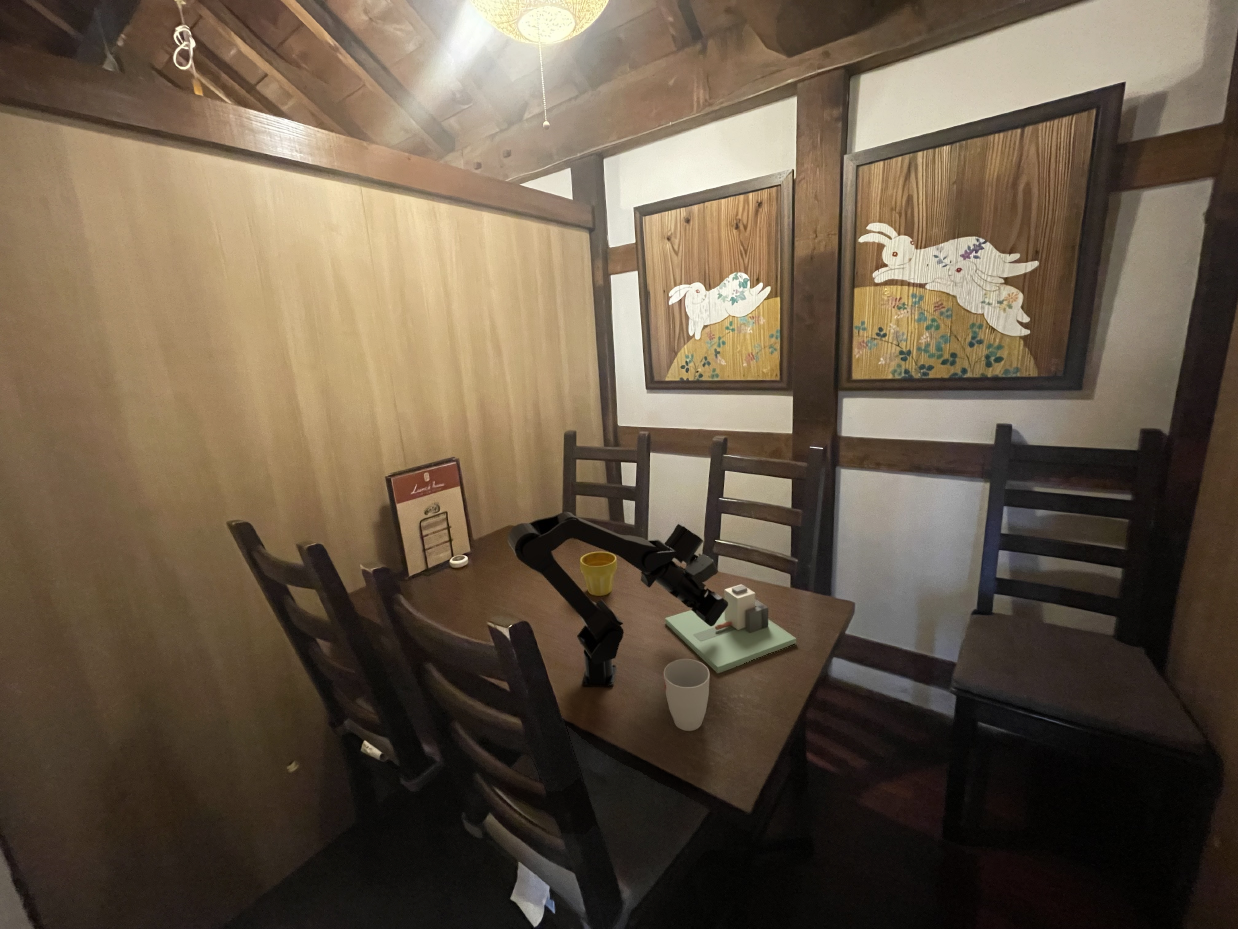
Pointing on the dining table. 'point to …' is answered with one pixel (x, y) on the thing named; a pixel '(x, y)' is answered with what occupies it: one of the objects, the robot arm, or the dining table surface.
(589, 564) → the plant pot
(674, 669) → the cup
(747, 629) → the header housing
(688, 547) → the robot arm
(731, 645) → the board
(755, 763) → the dining table surface
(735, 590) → the plug
